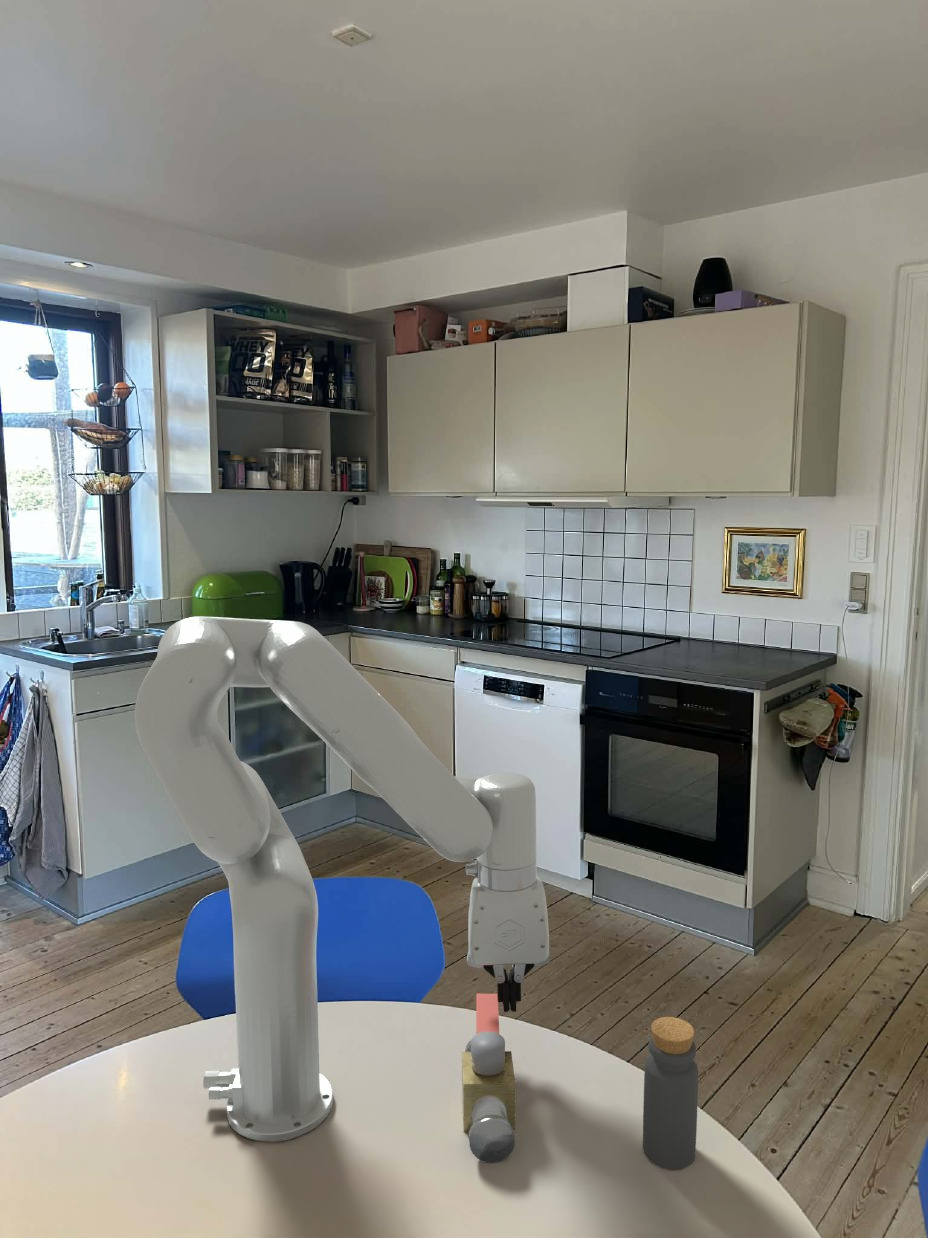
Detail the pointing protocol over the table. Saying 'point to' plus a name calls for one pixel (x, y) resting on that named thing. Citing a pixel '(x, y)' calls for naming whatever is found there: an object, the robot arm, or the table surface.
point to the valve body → (489, 1109)
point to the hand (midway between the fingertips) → (509, 1005)
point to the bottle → (670, 1095)
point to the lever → (487, 1037)
